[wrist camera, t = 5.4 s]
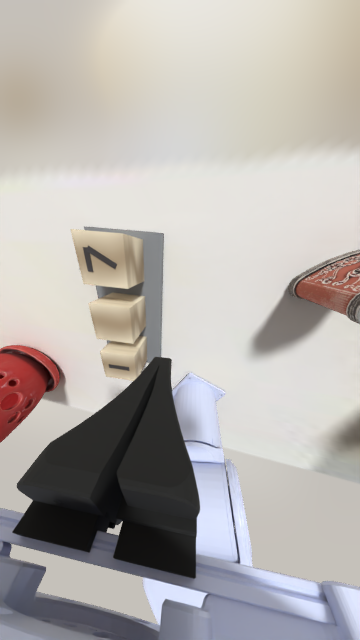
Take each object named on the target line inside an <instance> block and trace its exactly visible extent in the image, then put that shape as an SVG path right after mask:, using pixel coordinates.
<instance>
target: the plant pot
mask: <svg viewBox="0 0 360 640" xmlns="http://www.w3.org/2000/svg"><path fill="white" fill-rule="evenodd" d="M59 379H60V377H59V372H58V369H57V367H56V366H55V364H54V363H53V362H52V361H51V360H50V359H49V358H48V357H47V356H45V355H44V354H43V353H41V352H39V351H37V350H35V349H32V348H30V347H26V346H19V345H12V346H6V347H3V348H1V349H0V442H2V441H3V440H4V439H5V438H6V437H7V436H8V435H9V434H10V433H11V432H12V431H13V430H14V429H15V428H16V427H17V426H18V425H19V424H20V423H21V422H22V421H23V420H24V419H25V418H26V417H27V416H28V415H29V414H30V413H31V411H32V410H33V409H34V408H35V407H36V405H37V404H38V403H39V401H40V400H41V398H42V396H43V394H44V393H45V392H50V391H52V390H54V389H55V388H56V387H57V385H58V383H59Z"/></svg>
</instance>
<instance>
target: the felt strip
mask: <svg viewBox="0 0 360 640" xmlns="http://www.w3.org/2000/svg"><path fill="white" fill-rule="evenodd" d="M84 229H85V230H88V231H100V232H111V233H123V234H126V235H130V236H133V237H136V238H139V239H143V256H144V281H143V282H141V283H139V284H137V285H135V286H133V287H131V288H129V289H124V288H115V287H106V286H97V285H96V289H97V294H98V299H99V298H101V297H104V296H106V295H108V294H110V293H121V294H130V295H139V296H145V310H146V326H145V328H144V329H143V331H142V332H141V333H140V335H139V336H144V337H147V361H146V362H151V361H152V360H153V359H154V357H161V329H162V286H163V243H164V234H163V233H155V232H143V231H131V230H119V229H107V228H95V227H84ZM109 342H110V340H107V344H108V343H109Z"/></svg>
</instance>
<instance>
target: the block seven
mask: <svg viewBox="0 0 360 640" xmlns="http://www.w3.org/2000/svg"><path fill="white" fill-rule="evenodd" d="M71 233H72V237H73V242H74V246H75V250H76V254H77V258H78V262H79V267H80V271H81V275H82V279H83V283H84V284H88V285H97V286H106V287H115V288H124V289H129V288H131V287H133V286H135V285H137V284H139V283H141V282H143V281H144V256H143V239H139V238H136V237H133V236H130V235H126V234H123V233H111V232H100V231H88V230H76V229H71Z"/></svg>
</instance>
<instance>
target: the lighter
mask: <svg viewBox="0 0 360 640" xmlns="http://www.w3.org/2000/svg"><path fill="white" fill-rule="evenodd" d="M289 292H290V294H291V295H292V296H294V297H297V298H299V299H306V300H309V301H311V302H314V303H316V304H319V305H322V306H324V307H327V308H329V309H332V310H334V311H337V312H339V313H342V314H344V315H347V317H348V318H349V319H350V320H352V321H354V322H356V323H359V324H360V250H356V251H352V252H348V253H345V254H343V255H340V256H337V257H334V258H331V259H329V260H327V261H324V262H322V263H320V264H318V265H316V266H314V267H312V268H310V269H308V270H307V271H305V272H303V273H301V274H300V275H298V276H296V277H295V278H294V279H292V281H291V282H290V284H289Z"/></svg>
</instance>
